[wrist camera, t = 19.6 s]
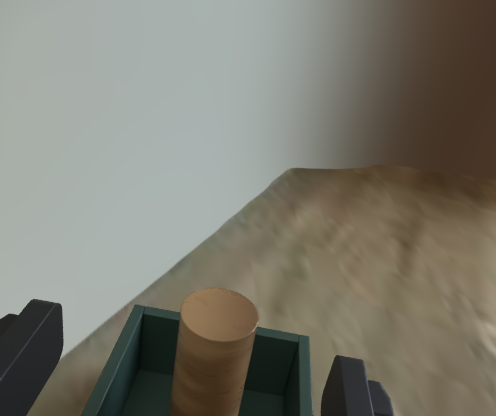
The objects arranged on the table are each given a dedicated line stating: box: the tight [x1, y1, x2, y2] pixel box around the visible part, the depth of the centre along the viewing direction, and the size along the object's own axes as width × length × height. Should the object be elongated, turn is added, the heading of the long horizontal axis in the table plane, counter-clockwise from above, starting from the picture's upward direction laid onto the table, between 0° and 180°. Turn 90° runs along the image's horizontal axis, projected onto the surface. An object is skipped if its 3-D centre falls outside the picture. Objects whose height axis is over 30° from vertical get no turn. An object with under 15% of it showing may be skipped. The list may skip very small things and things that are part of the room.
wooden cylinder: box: [169, 288, 259, 416], centre depth 26 cm, size 4×4×12 cm
